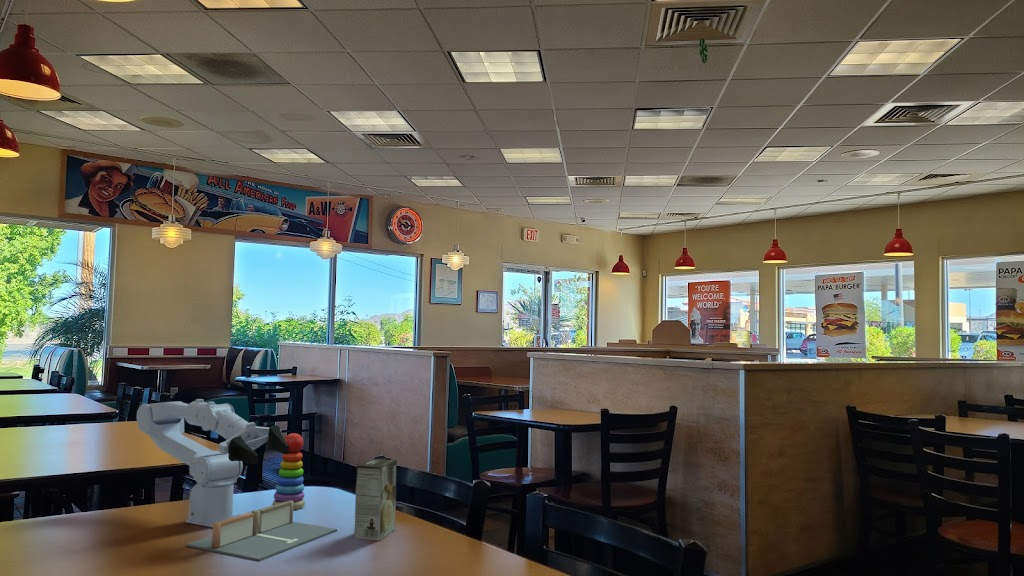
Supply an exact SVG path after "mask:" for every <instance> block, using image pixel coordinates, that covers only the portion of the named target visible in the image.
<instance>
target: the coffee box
mask: <svg viewBox="0 0 1024 576" xmlns="http://www.w3.org/2000/svg"><path fill="white" fill-rule="evenodd" d="M397 466H398V460H397V459H383V458H382V459H381V458H370V459H369V460H366V461H365V462H362V463H360V464H358V465H356V474H355V507H354V533H353V534H354V539H358V540H366V541H367V540H369V541H378V542H380V541H381V540H382V541H383V539H385V538H386V537H387V536H388V535H390V534H391V533H392V532H394V531H395V530H396V515H397V513H396V507H397V503H396V502H397V501H396V500H397V475H398V474H397V473H398V472H397V471H398V470H397V468H398V467H397Z"/></svg>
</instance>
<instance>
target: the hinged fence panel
mask: <svg viewBox="0 0 1024 576" xmlns="http://www.w3.org/2000/svg"><path fill="white" fill-rule="evenodd" d="M253 517H254V513H251V512H246V513H242V514H239V515H236V516H233V517H232V518H229V519H225V520H222V521H219V522H216V523H213V527H212V528H211V529H212V532H211V536H212V548H217V547H220V546H222V545H225V544H228V543H231V542H234V541H237V540H240V539H243V538H246V537H249V536H252V533H253Z"/></svg>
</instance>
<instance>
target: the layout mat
mask: <svg viewBox="0 0 1024 576" xmlns="http://www.w3.org/2000/svg"><path fill="white" fill-rule="evenodd" d="M337 531H338V529H337V528H333V527H328V526H327V527H326V526H321V525H314V524H311V523H310V524H309V523H305V522H304V523H303V522H296V521H293V523H290V524H284V525H281V526H278V527H275V528H272V529H270V530H267V531H264V532H259V534H258V535H255V536H249V537H246V538H243V539H240V540H237V541H234V542H231V543H228V544H225V545H222V546H220V547H217V548H212V535H211V536H210V535H209V536H207V537H205V538H202V539H198V540H195V541H193V542H189V543H186V547H190V548H194V549H199V550H204V551H209V552H213V553H218V554H223V555H228V556H233V557H237V558H242V559H243V558H244V559H249V560H253V561H256V562H257V561H258V562H261V561H263V560H265V559H268V558H271V557H274V556H276V555H278V554H282V553H284V552H286V551H289V550H292V549H295V548H298V547H300V546H301V545H305V544H306V543H309V542H311V541H312V542H313V541H316V540H317V539H320V538H322V537H325V536H328V535H331V534H333V533H336V532H337Z"/></svg>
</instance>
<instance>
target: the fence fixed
mask: <svg viewBox="0 0 1024 576" xmlns="http://www.w3.org/2000/svg"><path fill="white" fill-rule="evenodd" d="M250 513H254V517H253V533H252V536H255V535H258V534H259V532H264V531H267V530H270V529H272V528H275V527H278V526H281V525H284V524H290V523H293V522H294V521H293V520H294V519H293V518H294V510H293V501H286V502H282V503H279V504H276V505H270V506H265V507H263V508H258V509H257V510H256V509H255V510H254V509H253V510H251V512H250Z"/></svg>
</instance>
